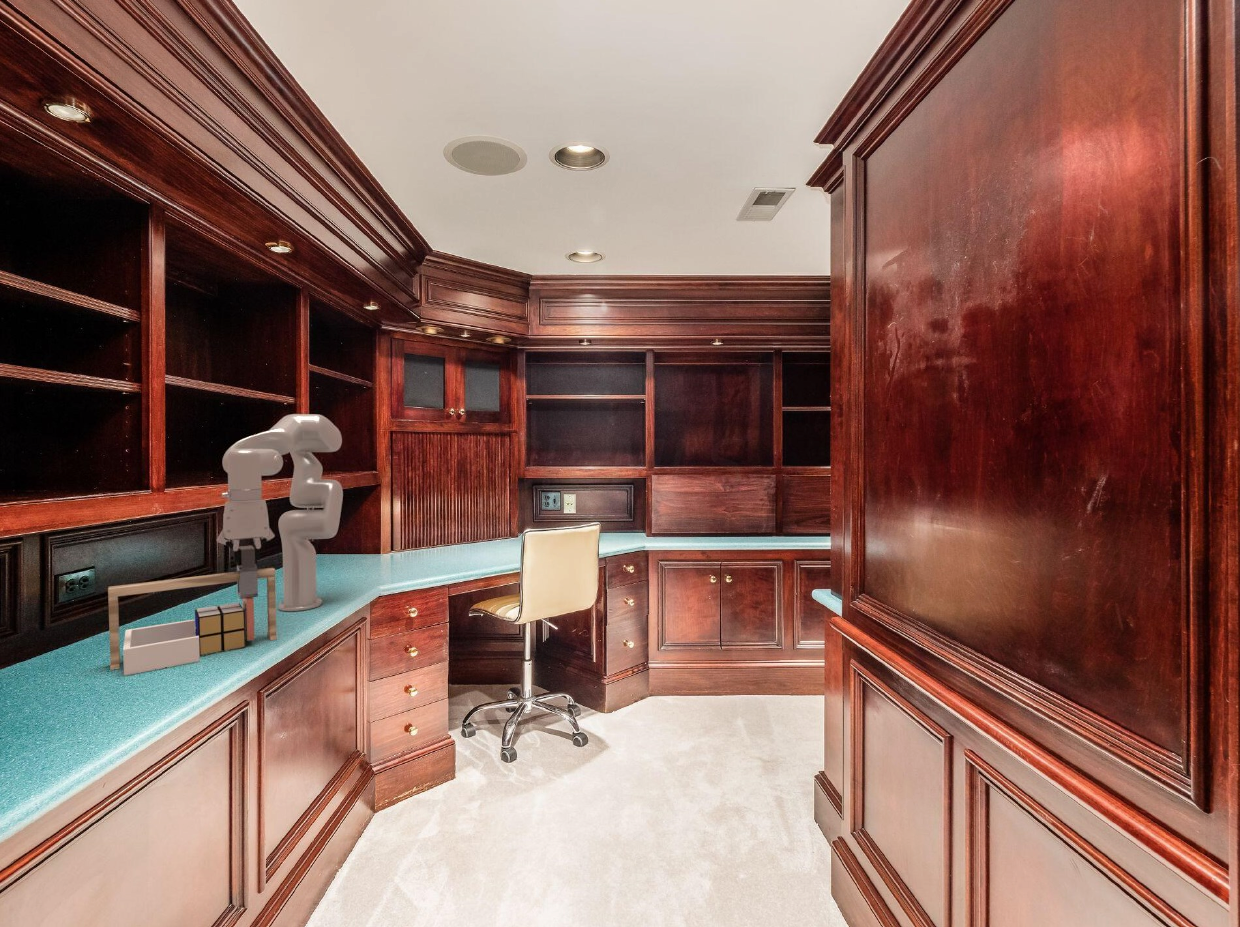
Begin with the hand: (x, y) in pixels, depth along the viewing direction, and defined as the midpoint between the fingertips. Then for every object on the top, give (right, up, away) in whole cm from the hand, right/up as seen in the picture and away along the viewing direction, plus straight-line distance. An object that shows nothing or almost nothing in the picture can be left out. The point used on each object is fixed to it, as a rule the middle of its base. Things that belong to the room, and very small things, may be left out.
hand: (246, 563), depth 157 cm
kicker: (0, -20, +1) cm, 20 cm away
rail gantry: (-9, -21, -6) cm, 24 cm away
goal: (-14, -22, -11) cm, 28 cm away
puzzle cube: (-5, -22, -3) cm, 22 cm away
